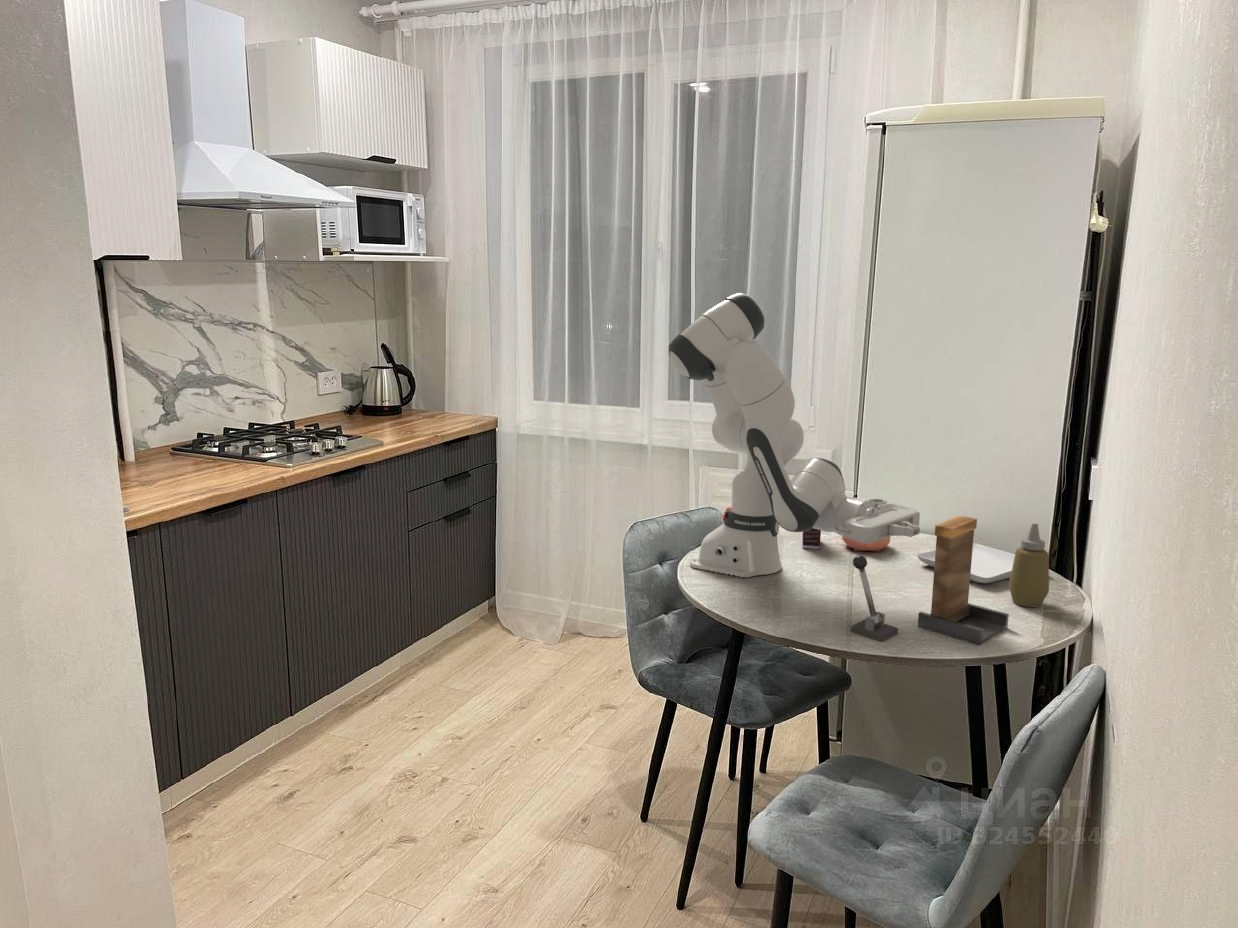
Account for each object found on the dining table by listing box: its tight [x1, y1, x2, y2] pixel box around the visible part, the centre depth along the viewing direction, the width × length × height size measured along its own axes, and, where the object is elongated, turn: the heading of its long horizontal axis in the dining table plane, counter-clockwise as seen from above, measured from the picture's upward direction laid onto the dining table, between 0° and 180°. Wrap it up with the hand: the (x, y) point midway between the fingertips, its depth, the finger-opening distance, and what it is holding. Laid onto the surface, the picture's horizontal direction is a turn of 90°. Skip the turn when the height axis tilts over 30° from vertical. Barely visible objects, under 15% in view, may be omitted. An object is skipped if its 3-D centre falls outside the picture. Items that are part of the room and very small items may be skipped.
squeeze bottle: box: [1008, 523, 1050, 608], centre depth 193 cm, size 8×8×18 cm
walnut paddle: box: [930, 515, 978, 622], centre depth 181 cm, size 4×11×21 cm, turn 133°
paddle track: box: [917, 602, 1010, 646], centre depth 181 cm, size 13×13×3 cm
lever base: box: [850, 611, 899, 643], centre depth 178 cm, size 7×6×4 cm
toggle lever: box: [852, 554, 883, 627], centre depth 178 cm, size 3×3×14 cm
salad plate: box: [916, 542, 1015, 584], centre depth 217 cm, size 21×21×3 cm
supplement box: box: [801, 528, 822, 550], centre depth 236 cm, size 9×5×16 cm, turn 168°
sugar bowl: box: [841, 535, 891, 552], centre depth 233 cm, size 12×14×10 cm
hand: (916, 531), depth 184 cm, fingers closed
